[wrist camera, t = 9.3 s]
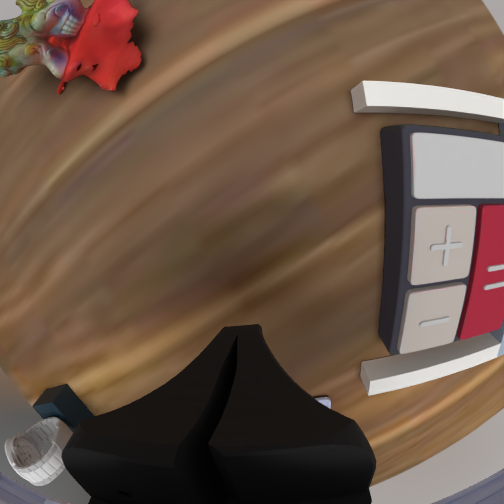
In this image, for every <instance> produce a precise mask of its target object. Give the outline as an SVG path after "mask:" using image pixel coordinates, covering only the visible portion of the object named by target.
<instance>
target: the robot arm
mask: <svg viewBox="0 0 504 504" xmlns="http://www.w3.org/2000/svg"><path fill="white" fill-rule="evenodd" d="M61 458H62V461H63V463H64V466H65V467H66V469H67V470H68V471H69V473H70V474H71V475H72V476H73V478H74V479H75V480H76V481H77V482H78V483H79V484H80V485H81V486H82V487H83V489H84V490H85V491H86V492H87V493H88V494H89V495H90V496H91V499H90V501H89V503H88V504H371V502H372V499H371V495H370V491H369V487H370V484H371V481H372V478H373V475H374V472H375V469H376V459H375V456H374V453H373V450H372V448H371V446H370V444H369V442H368V440H367V439H366V437H365V435H364V434H363V432H362V430H361V429H360V427H359V426H358V424H357V423H356V422H355V421H354V420H352V419H350V418H348V417H346V416H344V415H342V414H340V413H338V412H335V411H333V410H331V401H330V398H329V397H320V398H313V397H312V396H311V395H309V394H308V393H307V392H306V391H304V390H303V389H302V388H301V387H300V386H299V385H298V384H297V383H295V382H294V381H293V380H292V379H291V377H290V376H289V375H288V374H287V373H286V372H285V371H284V370H283V368H282V367H281V366H280V364H279V363H278V362H277V360H276V359H275V357H274V356H273V354H272V353H271V351H270V349H269V348H268V346H267V344H266V342H265V340H264V337H263V334H262V328H261V326H260V325H258V324H255V325H243V326H231V327H224V328H223V329H222V330H221V331H220V332H219V333H218V335H217V336H216V337H215V338H214V339H213V340H212V341H211V343H210V344H209V345H208V346H207V347H206V348H205V349H204V350H203V351H202V352H201V353H200V355H199V356H198V357H196V358H195V359H194V360H193V361H192V362H191V363H190V364H189V365H188V366H187V367H186V368H185V369H184V370H182V371H181V372H180V373H179V374H178V375H176V376H175V377H174V378H172V379H171V380H169V381H168V382H167V383H165V384H164V385H162V386H161V387H159V388H158V389H156V390H154V391H152V392H151V393H149V394H147V395H146V396H144V397H142V398H140V399H138V400H136V401H134V402H132V403H130V404H128V405H125V406H123V407H121V408H118V409H116V410H113V411H111V412H108V413H105V414H101V415H98V416H95V417H92V418H88V419H84V420H81V421H80V423H79V424H78V426H77V428H76V429H75V431H74V433H73V434H72V436H71V437H70V439H69V441H68V442H67V444H66V446H65V447H64V449H63V451H62V455H61ZM0 504H70V503H67V502H63V501H60V500H56V499H53V498H51V497H49V496H46V495H44V494H42V493H40V492H38V491H35V490H33V489H31V488H29V487H27V486H25V485H23V484H21V483H19V482H17V481H15V480H13V479H12V478H10V477H8V476H6V475H4V474H3V473H0ZM432 504H504V469H502V470H501V471H499V472H497V473H495V474H493V475H492V476H490V477H488V478H486V479H484V480H483V481H480V482H479V483H477V484H475V485H473V486H471V487H469V488H467V489H464V490H462V491H460V492H458V493H456V494H454V495H451V496H449V497H447V498H444V499H442V500H439V501H437V502H435V503H432Z"/></svg>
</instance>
